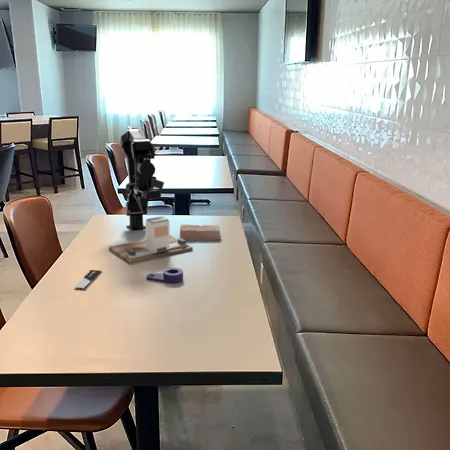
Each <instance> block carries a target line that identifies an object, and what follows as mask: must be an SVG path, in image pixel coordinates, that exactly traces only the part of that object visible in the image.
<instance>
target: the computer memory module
mask: <svg viewBox="0 0 450 450" xmlns="http://www.w3.org/2000/svg"><path fill="white" fill-rule="evenodd" d="M102 273H103V271H102V270H100V269H99V270H98V269H97V270H96V269H90V270H89V271H88V272H87V273H86V274H85V275H84V277H83V278H82V279H81V280H80V281H79V282H78V283H77V284H76V285H75V286H74V288H73V290H76V291H87V290H88V288H90V286H92V284H93V283H94V282H95V281H96V280H97V279H98V278H99V276H101V274H102Z"/></svg>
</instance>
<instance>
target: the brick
mask: <svg viewBox="0 0 450 450" xmlns="http://www.w3.org/2000/svg"><path fill="white" fill-rule="evenodd" d="M220 229H221V228H220V225H219V224H216V225H215V224H213V225H212V224H207V225H205V224H204V225H198V224H196V225H194V224H180V226H179V239H181V238H182V239H184V240H186V241H208V240H210V241H211V240H217V241H219V240H221V231H220Z"/></svg>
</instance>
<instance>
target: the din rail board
mask: <svg viewBox="0 0 450 450" xmlns="http://www.w3.org/2000/svg"><path fill="white" fill-rule="evenodd" d="M186 241H187V240H184V239H182V238H178V239H177V238H176V237H174V236H173V235H170V249H168V250H167V251H162V252H154V253H152V252H151V251H149V250H148V249H146V238H145V239H141V240H136V241H130V242H125V243H121V244H120V243H119V244H116V245H110V246H108V250H109V251H111V252H112V253H113V254H115V255H116V256H117V257H119V258H121V259H122V260H123V261H124V262H126V263H128V264H129V265H134V264H138V263H142V262H146V261H152V260H156V259H159V258H160V259H161V258H165V257H169V256H174V255H177V254H182V253H186V252H190V251H193V249H194V248H193V246H191V245H189V244H188V243H186Z"/></svg>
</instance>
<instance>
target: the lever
mask: <svg viewBox="0 0 450 450" xmlns="http://www.w3.org/2000/svg"><path fill="white" fill-rule="evenodd" d="M146 280H147V281H150V282H156V283H164V284H168V285H169V284H170V285H171V284H172V285H174V284H180V283H181V282H183V281H184V270H183V269H182V268H180V267H169V268H166V269H163V271H162V272H158V273H156V272H155V273H154V272H153V273H148V274H146Z"/></svg>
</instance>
